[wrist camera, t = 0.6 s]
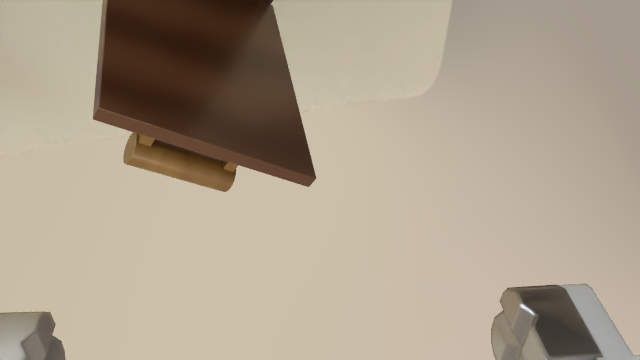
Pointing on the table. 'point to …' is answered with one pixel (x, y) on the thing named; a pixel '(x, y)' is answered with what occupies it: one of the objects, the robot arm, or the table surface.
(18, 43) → the table surface
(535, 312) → the robot arm
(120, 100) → the chest lid
